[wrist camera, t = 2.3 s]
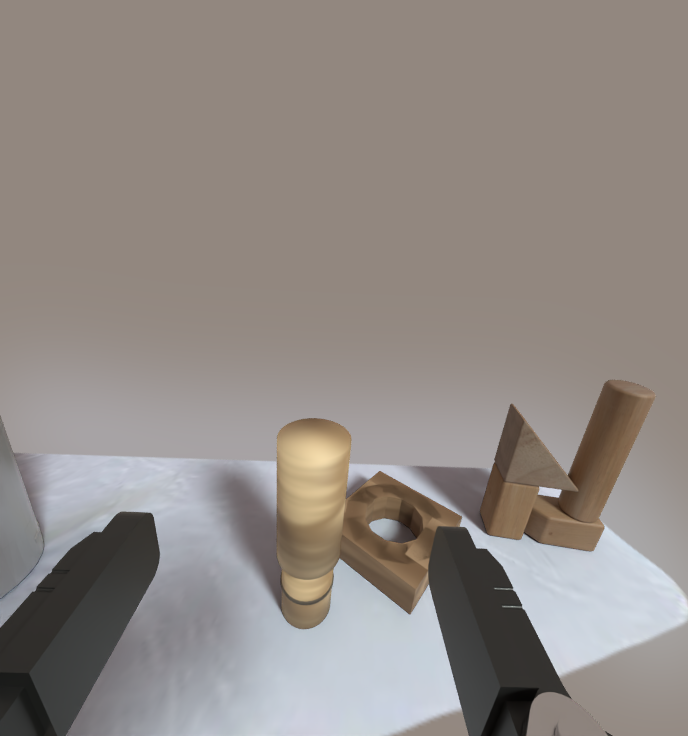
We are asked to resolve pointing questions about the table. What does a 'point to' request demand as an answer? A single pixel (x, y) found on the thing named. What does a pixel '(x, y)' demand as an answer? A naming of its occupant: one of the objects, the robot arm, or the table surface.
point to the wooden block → (563, 473)
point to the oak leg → (310, 515)
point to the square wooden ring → (385, 558)
